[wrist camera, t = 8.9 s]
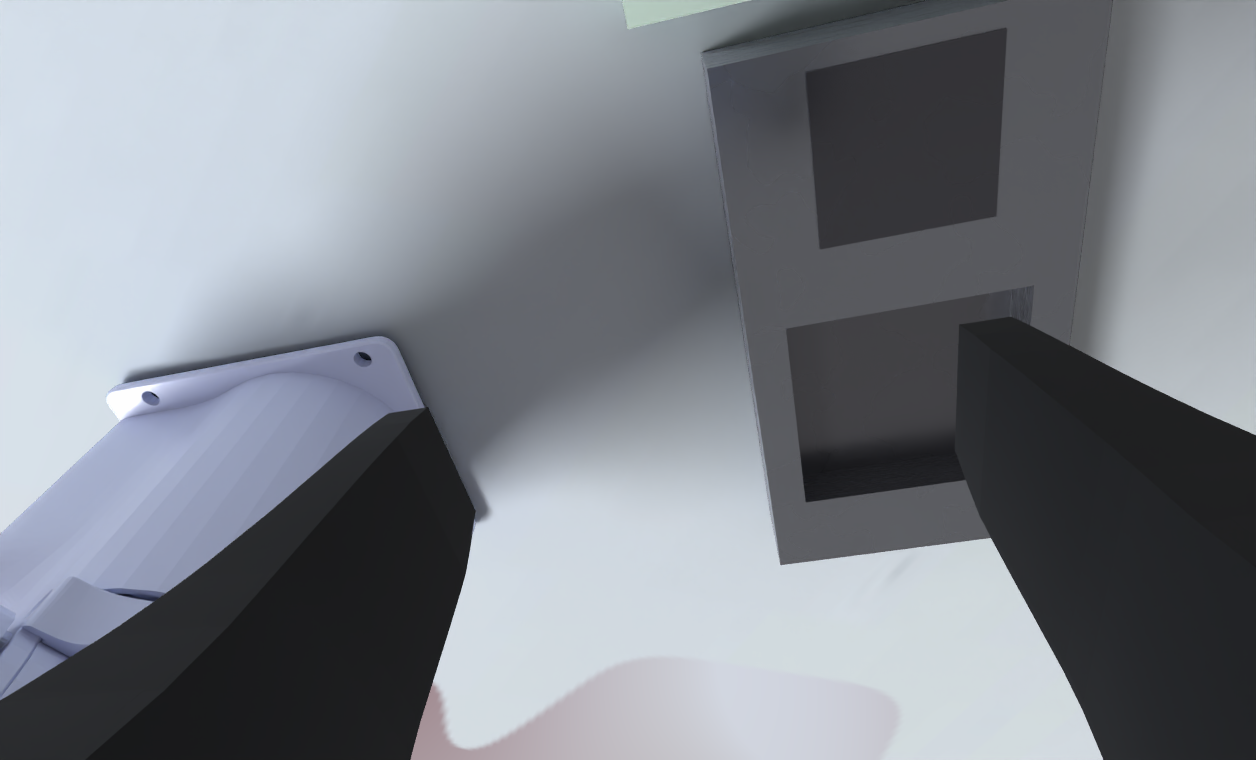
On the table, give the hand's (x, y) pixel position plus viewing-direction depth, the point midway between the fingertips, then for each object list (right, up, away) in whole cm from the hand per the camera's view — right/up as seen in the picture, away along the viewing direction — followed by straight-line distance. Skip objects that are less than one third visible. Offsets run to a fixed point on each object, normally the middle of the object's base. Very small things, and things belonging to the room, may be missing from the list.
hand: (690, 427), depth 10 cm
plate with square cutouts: (+6, +3, +10) cm, 12 cm away
